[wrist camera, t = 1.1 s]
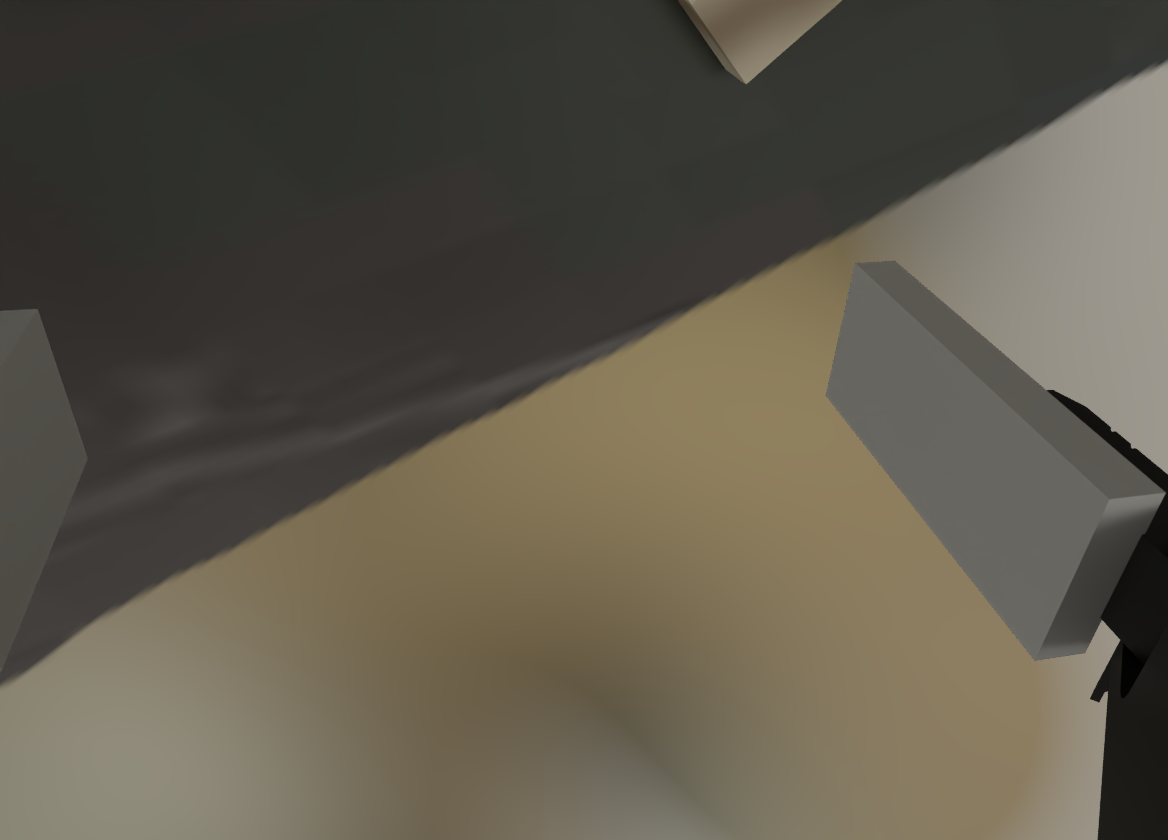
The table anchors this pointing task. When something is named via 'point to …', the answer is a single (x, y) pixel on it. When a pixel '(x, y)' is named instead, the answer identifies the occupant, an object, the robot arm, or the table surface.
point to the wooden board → (753, 29)
